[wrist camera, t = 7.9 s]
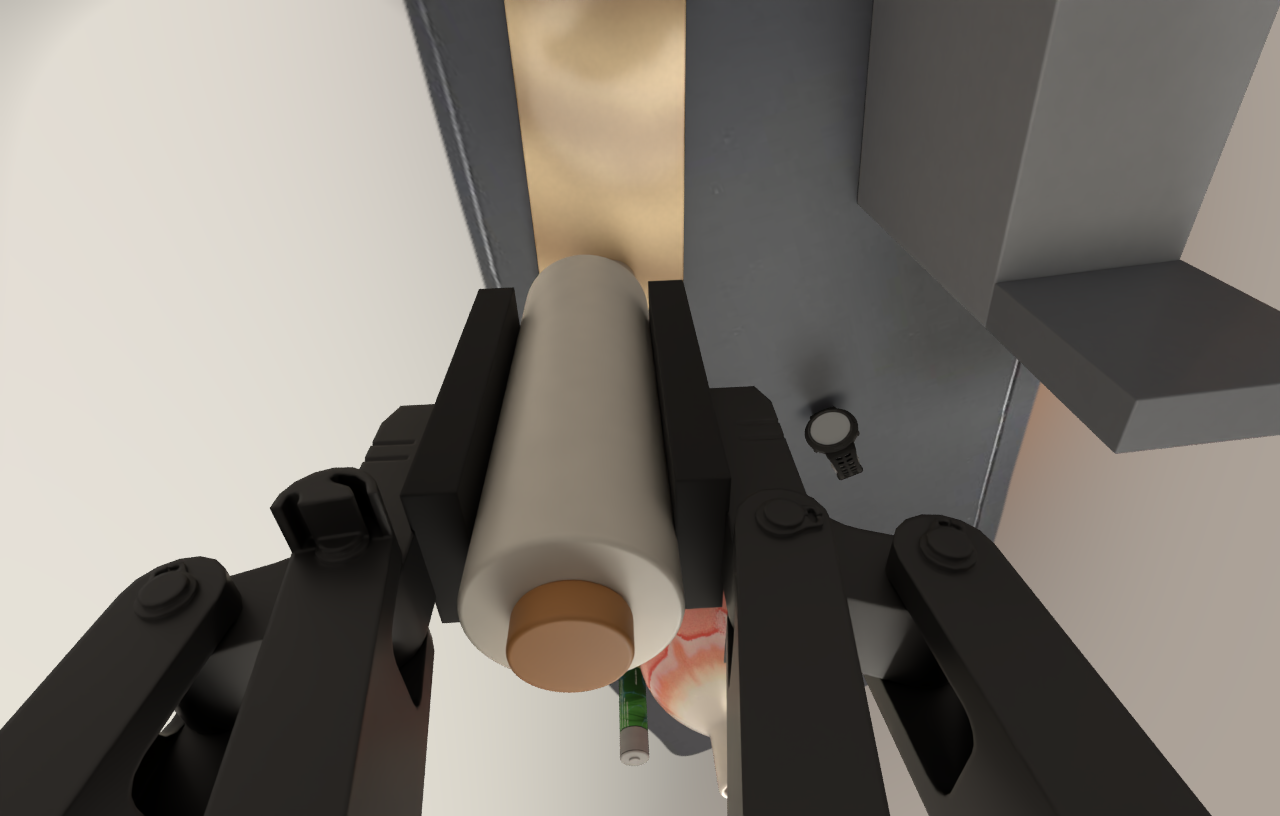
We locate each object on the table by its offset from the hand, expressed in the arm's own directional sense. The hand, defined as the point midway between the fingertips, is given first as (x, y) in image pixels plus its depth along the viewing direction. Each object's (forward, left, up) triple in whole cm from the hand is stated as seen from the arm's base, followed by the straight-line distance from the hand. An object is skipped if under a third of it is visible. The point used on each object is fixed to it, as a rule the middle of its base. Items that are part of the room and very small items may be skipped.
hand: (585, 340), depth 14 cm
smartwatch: (+14, +23, -26) cm, 37 cm away
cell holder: (0, 0, -25) cm, 25 cm away
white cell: (0, 0, -2) cm, 2 cm away
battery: (+48, +21, -26) cm, 58 cm away
